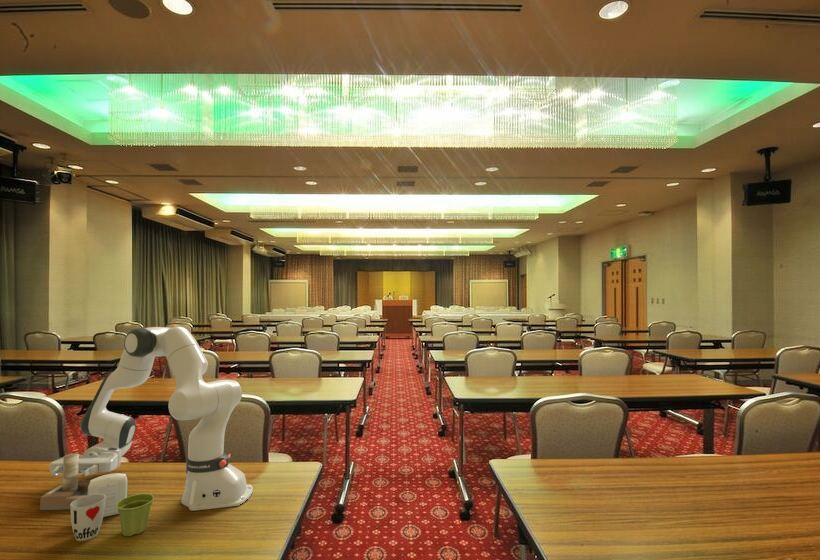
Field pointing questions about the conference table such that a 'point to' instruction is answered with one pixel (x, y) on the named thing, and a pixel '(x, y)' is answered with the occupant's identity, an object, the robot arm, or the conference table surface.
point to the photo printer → (110, 490)
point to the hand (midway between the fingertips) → (68, 473)
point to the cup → (87, 516)
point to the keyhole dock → (62, 497)
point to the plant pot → (134, 513)
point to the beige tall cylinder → (71, 474)
